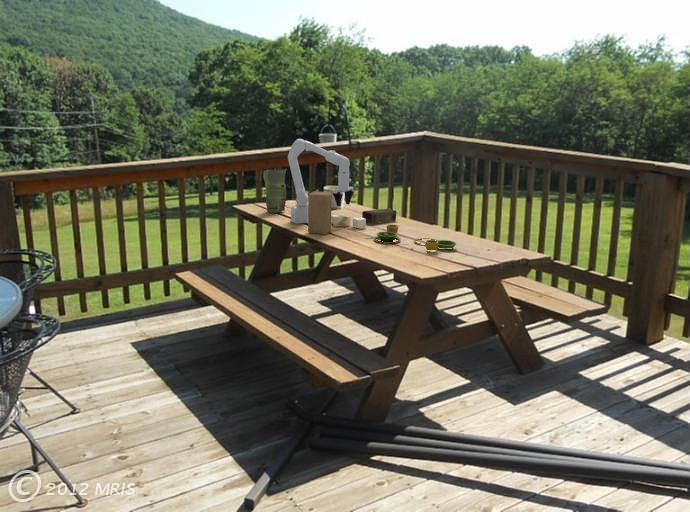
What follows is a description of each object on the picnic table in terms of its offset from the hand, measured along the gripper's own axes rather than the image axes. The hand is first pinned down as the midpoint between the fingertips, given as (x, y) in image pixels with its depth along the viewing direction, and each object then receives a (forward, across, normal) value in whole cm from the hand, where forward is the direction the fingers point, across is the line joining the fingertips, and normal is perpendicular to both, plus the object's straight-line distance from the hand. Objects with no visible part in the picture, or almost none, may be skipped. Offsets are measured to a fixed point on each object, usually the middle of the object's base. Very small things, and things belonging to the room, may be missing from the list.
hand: (343, 205), depth 359 cm
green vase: (+10, -4, +47) cm, 48 cm away
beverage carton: (+10, +17, -12) cm, 23 cm away
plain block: (+10, -5, -3) cm, 11 cm away
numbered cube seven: (+10, -4, -14) cm, 17 cm away
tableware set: (+10, -13, -54) cm, 56 cm away
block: (+10, -26, -6) cm, 29 cm away
